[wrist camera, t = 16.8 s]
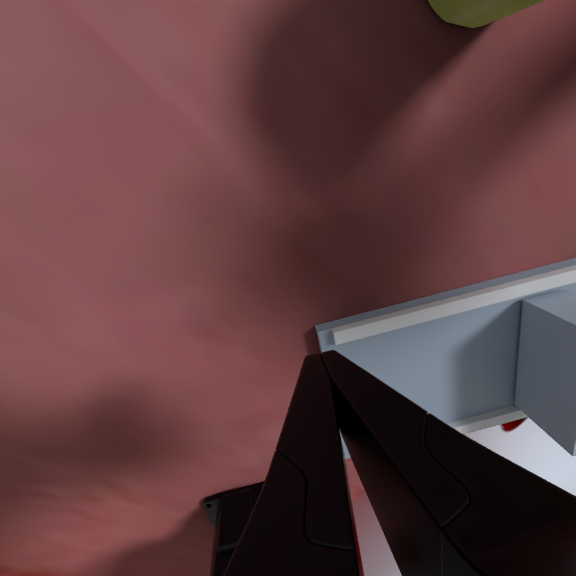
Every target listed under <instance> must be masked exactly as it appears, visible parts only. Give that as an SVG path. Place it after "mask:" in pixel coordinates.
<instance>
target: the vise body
mask: <svg viewBox="0 0 576 576" xmlns="http://www.w3.org/2000/svg"><path fill="white" fill-rule="evenodd" d="M562 289H563V290H566V291H569V292H571V293H574V294H576V258H572V259H568V260H564V261H561V262H557V263H553V264H549V265H545V266H541V267H537V268H534V269H530V270H526V271H522V272H518V273H514V274H511V275H507V276H503V277H499V278H495V279H491V280H487V281H484V282H480V283H476V284H472V285H468V286H464V287H461V288H457V289H453V290H449V291H445V292H441V293H437V294H434V295H430V296H426V297H422V298H418V299H414V300H411V301H407V302H403V303H399V304H395V305H391V306H387V307H384V308H380V309H376V310H372V311H368V312H364V313H361V314H357V315H353V316H349V317H345V318H341V319H337V320H334V321H330V322H326V323H322V324H318V325H315V328H316V333H317V337H318V342H319V346H320V351H321V353H322V352H325V351H329V350H336V351H337V352H339V353H340V354H342V355H343V356H345V357H346V358H348V359H349V360H351V361H352V362H354V363H355V364H357V365H358V366H360V367H361V368H363V369H364V370H366V371H367V372H369V373H370V374H372V375H373V376H375V377H376V378H378V379H379V380H381V381H382V382H384V383H385V384H387V385H388V386H390V387H391V388H393V389H394V390H396V391H397V392H399V393H400V394H402V395H403V396H405V397H407V398H408V399H410V400H411V401H413V402H414V403H416V404H417V405H419V406H420V407H422V408H423V409H425V410H426V411H427V412H428V413H431V414H432V415H434V416H435V417H437V418H438V419H440V420H441V421H443V422H444V423H446V424H448V425H449V426H451V427H452V428H454V429H456V430H457V431H459V432H460V433H462V434H466V433H470V432H474V431H477V430H481V429H485V428H488V427H492V426H496V425H500V424H503V423H507V422H511V421H514V420H518V419H522V418H526V417H528V416H527V415H526V414H525V413H524V412H522V411H521V410H520V409H519V408H518V407H517V406H516V405H515V404H514V403H515V391H516V379H517V367H518V354H519V342H520V330H521V318H522V305H523V300H524V299H527V298H531V297H535V296H539V295H543V294H546V293H550V292H554V291H558V290H562ZM340 435H341V432H340ZM341 440H342V446H343V452H344V455H345V459H348V458H351V456H350V454H349V452H348V449H347V447H346V445H345V443H344V440H343V438H342V435H341Z"/></svg>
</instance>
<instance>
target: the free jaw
mask: <svg viewBox="0 0 576 576" xmlns="http://www.w3.org/2000/svg"><path fill="white" fill-rule="evenodd" d="M514 404H515V405H516V406H517V407H518V408H519V409H520V410H521V411H522V412H524V413H525V414H526V415H527V416H528V417H529V418H530V419H532V420H533V421H534V422H535V423H536V424H537V425H538V426H539V427H540V428H541V429H543V430H544V431H545V432H546V433H547V434H548V435H549V436H551V437H552V438H553V439H554V440H555V441H556V442H557V443H558V444H559V445H560V446H562V447H563V448H564V449H565V450H566V451H567V452H568V453H570V454H571V455H572V456H576V294H574V293H571V292H569V291H566V290H563V289H562V290H558V291H554V292H550V293H546V294H543V295H539V296H535V297H531V298H527V299H524V300H523V305H522V318H521V330H520V342H519V354H518V367H517V379H516V391H515V403H514Z"/></svg>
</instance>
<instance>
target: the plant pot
mask: <svg viewBox="0 0 576 576" xmlns="http://www.w3.org/2000/svg"><path fill="white" fill-rule="evenodd" d="M428 1H429V3H430V5H431V7H432V8H433V9H434V11H435V12H436V13H437V15H438V16H439V17H440V18H442V19H443V20H444V21H446V22H448V23H452V24H457V25H461V26H465V27H469V28H476V27H481V26H484V25H486V24H489V23H491V22H493V21H496V20H498V19H501V18H503V17H506V16H508V15H510V14H513V13H515V12H517V11H520V10H522V9H525V8H527V7H529V6H532V5H534V4H537V3H539V2H542V1H544V0H428Z"/></svg>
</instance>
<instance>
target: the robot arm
mask: <svg viewBox="0 0 576 576" xmlns="http://www.w3.org/2000/svg"><path fill="white" fill-rule="evenodd" d="M340 432H341V435H342V438H343V440H344V443H345V445H346V447H347V449H348V452H349V454H350V456H351V459H352V461H353V463H354V466H355V468H356V470H357V473H358V475H359V477H360V480H361V482H362V484H363V486H364V489H365V491H366V493H367V496H368V498H369V500H370V503H371V505H372V507H373V509H374V512H375V514H376V517H377V519H378V521H379V523H380V526H381V528H382V530H383V532H384V535H385V537H386V540H387V541H388V544H389V546H390V549H391V551H392V553H393V556H394V558H395V560H396V563H397V565H398V567H399V570H400V572H401V574H402V576H576V496H574V495H572V494H570V493H568V492H567V491H565V490H563V489H561V488H559V487H557V486H556V485H554V484H552V483H550V482H548V481H546V480H545V479H543V478H541V477H539V476H537V475H535V474H533V473H532V472H530V471H528V470H526V469H524V468H522V467H521V466H519V465H517V464H515V463H513V462H511V461H510V460H508V459H506V458H504V457H502V456H500V455H498V454H497V453H495V452H493V451H491V450H490V449H488V448H486V447H484V446H483V445H481V444H479V443H477V442H476V441H474V440H472V439H470V438H468V437H467V436H465V435H464V434H462V433H460V432H459V431H457V430H456V429H454V428H452V427H451V426H449V425H448V424H446V423H444V422H443V421H441V420H440V419H438V418H437V417H435V416H434V415H432V414H431V413H428V412H427V411H426V410H425V409H423V408H422V407H420V406H419V405H417V404H416V403H414V402H413V401H411V400H410V399H408V398H407V397H405V396H403V395H402V394H400V393H399V392H397V391H396V390H394V389H393V388H391V387H390V386H388V385H387V384H385V383H384V382H382V381H381V380H379V379H378V378H376V377H375V376H373V375H372V374H370V373H369V372H367V371H366V370H364V369H363V368H361V367H360V366H358V365H357V364H355V363H354V362H352V361H351V360H349V359H348V358H346V357H345V356H343V355H342V354H340V353H339V352H337V351H336V350H329V351H325V352H322V353H321V354H318V353H317V354H313V355H308V356H306V357H305V358H304V361H303V365H302V368H301V371H300V374H299V377H298V380H297V383H296V387H295V390H294V393H293V396H292V399H291V402H290V405H289V409H288V412H287V415H286V418H285V421H284V424H283V427H282V431H281V434H280V437H279V440H278V443H277V446H276V451H275V452H274V455H273V458H272V462H271V465H270V468H269V471H268V473H267V476H266V479H265V482H264V483H260V484H257V485H253V486H249V487H246V488H242V489H238V490H234V491H231V492H227V493H223V494H220V495H216V496H212V497H208V498H206V499H205V500H204V504H203V507H204V509H205V511H206V513H207V515H208V517H209V519H210V520H211V522H212V524H213V526H214V528H215V533H214V542H213V552H212V562H211V572H210V576H364V572H363V566H362V560H361V554H360V548H359V542H358V536H357V530H356V524H355V518H354V512H353V506H352V500H351V494H350V488H349V482H348V476H347V470H346V464H345V458H344V452H343V446H342V440H341V435H340Z"/></svg>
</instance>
